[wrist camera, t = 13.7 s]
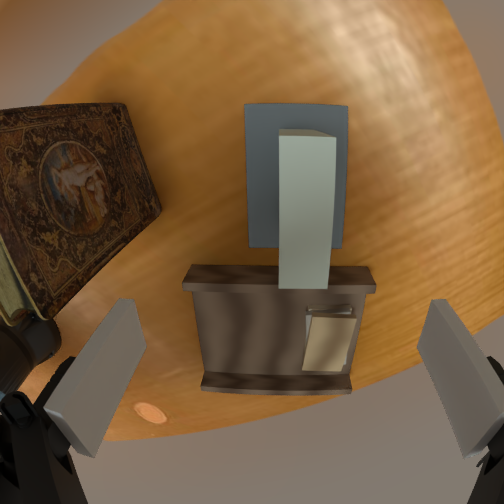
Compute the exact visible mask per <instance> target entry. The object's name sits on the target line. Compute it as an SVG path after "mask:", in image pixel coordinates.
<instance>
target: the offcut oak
mask: <svg viewBox="0 0 504 504" xmlns="http://www.w3.org/2000/svg"><path fill="white" fill-rule="evenodd" d="M356 320H357V318H356V315H355V314H334V313H315V312H312V315H311V321H310V326H309V332H308V337H307V342H306V347H305V352H304V357H303V362H302V370H306V371H341V370H342V367H343V364H344V361H345V358H346V355H347V351H348V348H349V345H350V341H351V338H352V334H353V331H354V327H355V324H356Z"/></svg>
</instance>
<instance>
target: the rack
mask: <svg viewBox="0 0 504 504" xmlns="http://www.w3.org/2000/svg"><path fill="white" fill-rule="evenodd" d="M182 286H183V291H192V295H193V302H194V308H195V315H196V322H197V328H198V334H199V341H200V347H201V353H202V358H203V364H204V370H205V372H204V375H203V379H202V382H201V391H210V392H222V393H236V394H254V395H339V394H351V391H352V386H351V381H350V376H349V372H350V368H351V364H352V360H353V356H354V352H355V347H356V343H357V338H358V333H359V329H360V324H361V319H362V314H363V309H364V303H365V298H366V294H372V293H375V291H376V283H375V281H374V279H373V277H372V275H371V273H370V271H369V269H368V267H334V266H330V267H329V277H328V287H327V289H279V266H244V265H191V267H190V269H189V271H188V273H187V274H186V276H185V278H184V280H183V282H182ZM308 305H351V308H352V312H351V314H355V315H356V318H357V320H356V324H355V327H354V331H353V334H352V338H351V341H350V345H349V348H348V351H347V358H346V365H343V367H342V370H341V371H306V370H302V362H303V357H304V347H305V337H306V311H308Z"/></svg>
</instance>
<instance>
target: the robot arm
mask: <svg viewBox="0 0 504 504" xmlns="http://www.w3.org/2000/svg"><path fill="white" fill-rule="evenodd" d="M60 346H61V337H60V333H59V330H58V328H57V326H56V324H55V322H54V321H53V319H50V320H42V319H41V318H40V317H39V316H38V314H36V313H33V312H30V313H29V314H28V315H27V316H26V317H25V318H24V319H23V320H22V321H21V322H20V323H19V324H18V325H16V326H9V325H7V324H6V322H5V321H4V319H3V317H2V316H1V314H0V412H1V414H2V415H0V504H88V502H87V500H86V497H85V495H84V492H83V489H82V486H81V484H80V481H79V478H78V476H77V473H76V470H75V467H74V464H73V461H72V458H71V455H70V453H69V451H68V449H69V447H70V445H72V447H73V448H74V449H75V450H76V451H77V453H80V454H83V455H86V456H89V457H92V458H95V455H96V453H97V451H98V449H99V446H100V444H101V442H102V440H103V437H104V435H105V433H106V431H107V429H108V426H109V424H110V422H111V420H112V418H113V416H114V413H115V411H116V409H117V407H118V405H119V403H120V401H121V398H122V396H123V394H124V392H125V390H126V388H127V386H128V384H129V382H130V380H131V378H132V376H133V374H134V372H135V369H136V367H137V365H138V363H139V361H140V359H141V357H142V355H143V353H144V351H145V349H146V347H147V345H146V342H145V339H144V335H143V332H142V328H141V324H140V321H139V317H138V313H137V309H136V306H135V302H134V299H120V298H119V299H118V301H117V302H116V303H115V305H114V306H113V307H112V309H111V310H110V311H109V313H108V314H107V315H106V317H105V318H104V319H103V321H102V322H101V323H100V325H99V326H98V328H97V329H96V330H95V332H94V333H93V335H92V336H91V337H90V339H89V340H88V341H87V343H86V344H85V346H84V347H83V349H82V350H81V351H80V353H79V354H78V356H77V357H72V356H70V357H69V358H68V359H66V360H65V361H64V362H62V363H61V364H60V366H59V367H58V369H57V370H56V372H55V374H53V376H52V377H51V379H50V382H48V383H47V385H46V386H45V388H44V389H43V390H42V392H41V393H40V395H39V396H38V398H37V399H36V401H35V403H34V404H32V403H31V401H30V400H29V398H28V397H27V395H25V394H24V393H23V392H20V391H17V390H18V389H19V387H20V386H21V385H22V383H23V382H24V380H25V379H26V378H27V376H28V375H29V374H30V372H31V371H32V370H33V368H34V367H36V366H37V365H39V364H41V363H43V362H44V361H46V360H48V359H49V358H51V357H53V356H54V355H55V354H56V352H57V351H58V350H59V348H60ZM417 349H418V351H419V353H420V355H421V357H422V359H423V361H424V364H425V366H426V368H427V370H428V372H429V374H430V377H431V379H432V381H433V383H434V385H435V388H436V390H437V392H438V395H439V397H440V399H441V401H442V404H443V406H444V409H445V411H446V414H447V416H448V419H449V421H450V424H451V426H452V429H453V431H454V434H455V437H456V439H457V442H458V444H459V447H460V450H461V453H462V456H463V458H464V459H465V458H469V457H471V456H474V455H477V454H479V453H480V452H481V451H482V450H483V449H484V448H485V447H486V446H488V448H489V452H488V453H487V454H486V455H485V456H484V457H483V458H482V460H480V461H479V462H478V464H477V466H476V467H479V466H480V465H481V464H482V463H483V465H482V468H481V471H480V474H479V476H478V479H477V482H476V484H475V486H474V489H473V491H472V493H471V496H470V498H469V500H468V503H467V504H504V370H503V368H502V366H501V365H500V364H499V363H498V362H497V361H496V360H495V359H493V358H492V357H491V356H489V357H486V356H485V355H484V353H483V352H482V350H481V349H480V348H479V346H478V344H477V343H476V341H475V340H474V338H473V337H472V335H471V334H470V332H469V331H468V329H467V328H466V327H465V325H464V324H463V322H462V321H461V320H460V318H459V317H458V315H457V314H456V313H455V311H454V310H453V309H452V307H451V306H450V305H449V303H448V302H447V301H446V299H436V300H431V304H430V307H429V311H428V314H427V317H426V320H425V324H424V327H423V330H422V333H421V336H420V339H419V342H418V345H417Z"/></svg>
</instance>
